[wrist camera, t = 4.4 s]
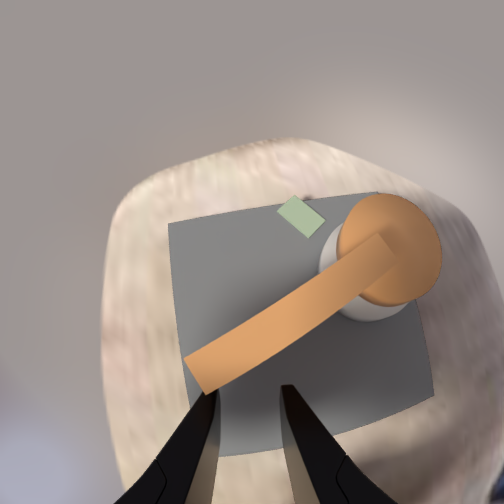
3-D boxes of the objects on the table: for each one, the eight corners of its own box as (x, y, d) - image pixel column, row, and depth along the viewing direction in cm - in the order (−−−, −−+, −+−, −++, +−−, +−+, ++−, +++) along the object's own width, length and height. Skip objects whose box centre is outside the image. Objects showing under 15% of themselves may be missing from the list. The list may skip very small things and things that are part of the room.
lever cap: (377, 203, 15) (416, 144, 10) (431, 274, 13) (490, 236, 8) (190, 322, 13) (151, 298, 8) (249, 415, 11) (245, 451, 6)
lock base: (206, 450, 13) (191, 475, 9) (173, 228, 18) (154, 194, 14) (421, 393, 14) (459, 397, 10) (368, 197, 19) (388, 163, 15)
